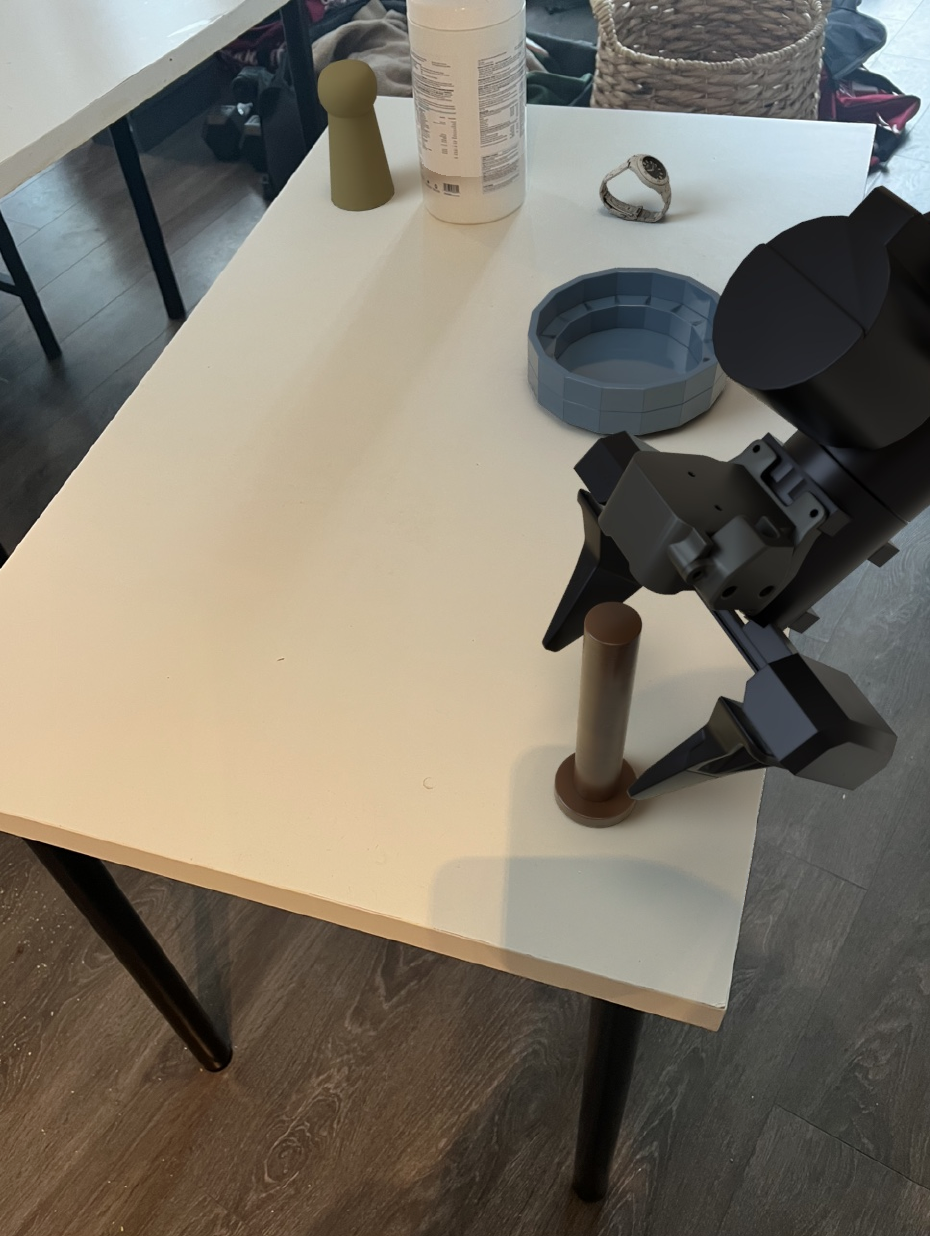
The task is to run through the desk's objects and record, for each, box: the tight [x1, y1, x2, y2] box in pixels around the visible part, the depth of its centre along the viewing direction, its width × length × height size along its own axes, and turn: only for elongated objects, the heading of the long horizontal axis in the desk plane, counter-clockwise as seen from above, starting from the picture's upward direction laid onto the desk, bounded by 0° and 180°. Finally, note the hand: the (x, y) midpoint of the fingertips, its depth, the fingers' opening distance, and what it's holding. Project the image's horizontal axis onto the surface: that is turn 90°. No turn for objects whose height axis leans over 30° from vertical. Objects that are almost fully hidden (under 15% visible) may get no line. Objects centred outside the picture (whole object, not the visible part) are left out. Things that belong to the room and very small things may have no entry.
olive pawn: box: [317, 58, 395, 212], centre depth 87 cm, size 6×6×11 cm
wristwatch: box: [598, 153, 672, 224], centre depth 83 cm, size 4×6×5 cm, turn 64°
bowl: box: [527, 267, 728, 436], centre depth 71 cm, size 14×14×4 cm
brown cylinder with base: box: [553, 602, 643, 829], centre depth 47 cm, size 4×4×14 cm
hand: (588, 718), depth 46 cm, fingers open, 9 cm apart
